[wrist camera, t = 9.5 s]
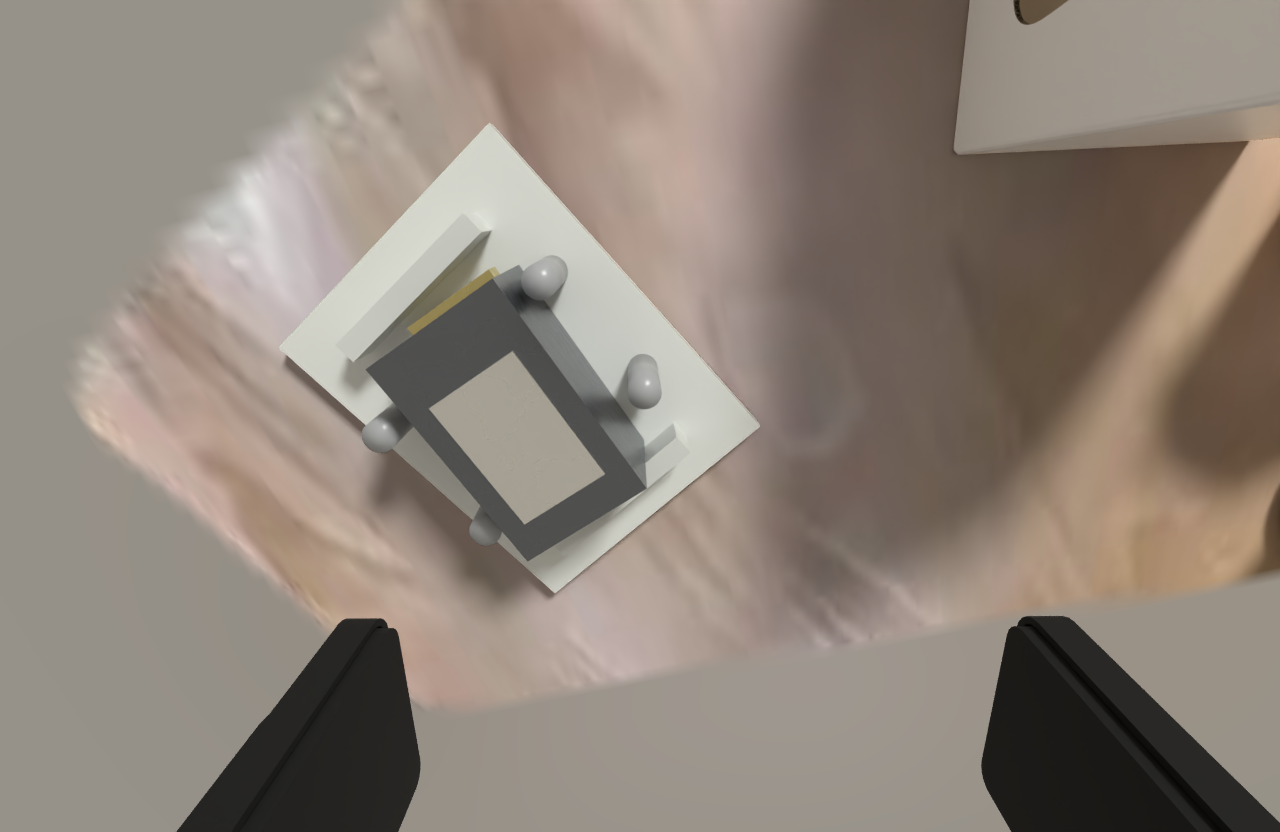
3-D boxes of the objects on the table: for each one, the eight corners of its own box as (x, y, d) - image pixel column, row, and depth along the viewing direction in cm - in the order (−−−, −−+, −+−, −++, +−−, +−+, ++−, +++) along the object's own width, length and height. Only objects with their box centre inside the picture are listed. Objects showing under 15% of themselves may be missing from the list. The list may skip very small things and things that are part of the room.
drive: (644, 439, 30) (646, 489, 25) (544, 501, 31) (527, 562, 26) (511, 254, 27) (482, 266, 22) (407, 330, 28) (354, 359, 23)
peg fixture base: (756, 419, 31) (779, 458, 26) (557, 582, 34) (545, 644, 29) (494, 126, 26) (463, 108, 22) (289, 343, 29) (224, 369, 24)
